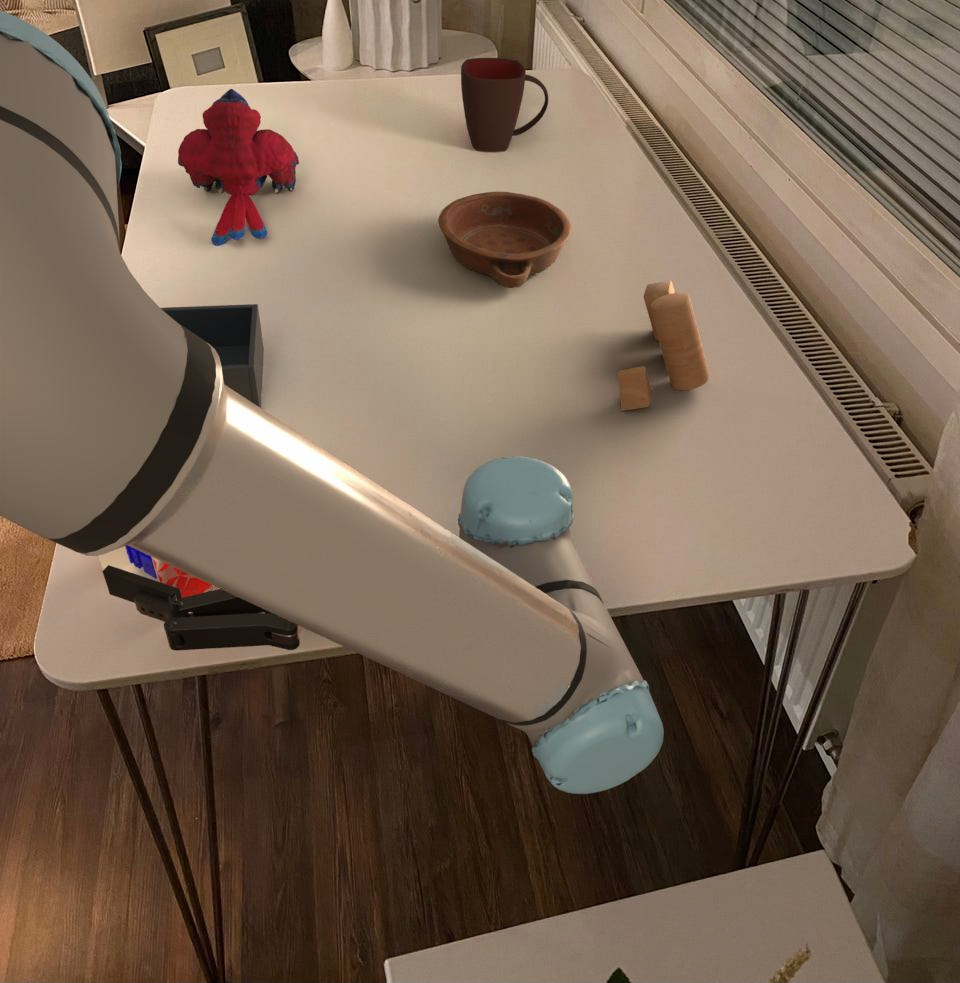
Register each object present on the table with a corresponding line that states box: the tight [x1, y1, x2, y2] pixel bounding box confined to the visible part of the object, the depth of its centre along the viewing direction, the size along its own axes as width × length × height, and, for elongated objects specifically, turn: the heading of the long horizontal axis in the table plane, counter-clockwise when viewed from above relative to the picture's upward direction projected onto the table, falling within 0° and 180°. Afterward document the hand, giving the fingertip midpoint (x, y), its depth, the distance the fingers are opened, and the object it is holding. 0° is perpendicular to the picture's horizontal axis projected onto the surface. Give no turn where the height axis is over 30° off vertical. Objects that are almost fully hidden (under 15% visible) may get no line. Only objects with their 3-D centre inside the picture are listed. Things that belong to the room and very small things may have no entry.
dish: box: [437, 191, 572, 289], centre depth 128 cm, size 17×22×5 cm
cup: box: [460, 57, 549, 153], centre depth 152 cm, size 10×14×12 cm
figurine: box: [177, 88, 300, 247], centre depth 133 cm, size 16×20×18 cm
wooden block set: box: [617, 279, 710, 412], centre depth 108 cm, size 18×9×10 cm, turn 165°
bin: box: [160, 303, 265, 409], centre depth 104 cm, size 12×12×6 cm
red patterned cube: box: [97, 545, 214, 598], centre depth 83 cm, size 8×8×8 cm
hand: (158, 524), depth 81 cm, fingers open, 13 cm apart
